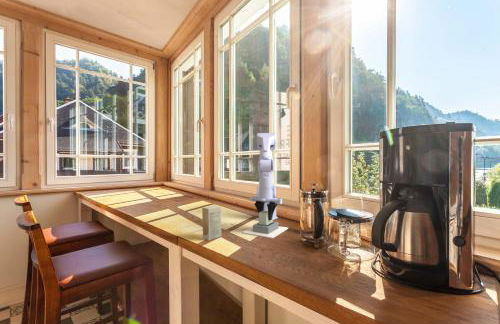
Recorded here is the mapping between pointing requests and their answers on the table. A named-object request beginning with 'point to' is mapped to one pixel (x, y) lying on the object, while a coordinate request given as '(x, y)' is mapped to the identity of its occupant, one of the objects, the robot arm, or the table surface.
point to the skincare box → (211, 222)
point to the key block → (264, 218)
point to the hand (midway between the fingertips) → (265, 219)
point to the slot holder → (266, 230)
